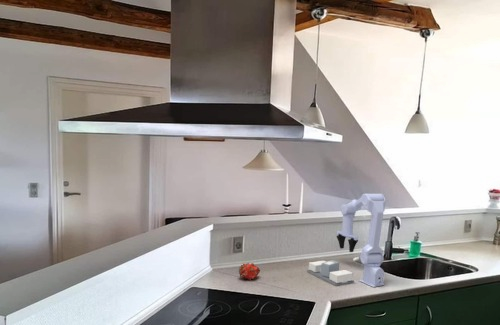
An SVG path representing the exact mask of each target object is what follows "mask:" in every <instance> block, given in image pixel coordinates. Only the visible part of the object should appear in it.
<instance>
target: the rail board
mask: <svg viewBox="0 0 500 325" xmlns="http://www.w3.org/2000/svg"><path fill="white" fill-rule="evenodd" d="M324 262H327V261H326V260H317V261H312V262H311V261H310V262H308V269H307V270H306V273H309V274H311V275H312V276H314V277H316V278H318V279H320V280H322V281H324V282H326V283H328V284H329V285H332V286H334V287H339V286H344V285H349V284H354V283H355V280H353V277H354V272H351V271H349V270H346V269H343V270H339V271H334V272H330V275H329V277H326V276H323V275H321V267H322V263H324Z"/></svg>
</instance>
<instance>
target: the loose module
mask: <svg viewBox="0 0 500 325" xmlns="http://www.w3.org/2000/svg"><path fill="white" fill-rule="evenodd" d="M334 271H340V261H337V260H333V259H331V260H328V261H326V262H324V263H322V267H321V275H323V276H326V277H329V275H330V272H334Z"/></svg>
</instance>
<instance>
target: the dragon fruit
mask: <svg viewBox="0 0 500 325" xmlns="http://www.w3.org/2000/svg"><path fill="white" fill-rule="evenodd" d="M260 273H261V269H260V268H259V267H258V266H257V265H255V264H254V263H253V262H252V263H250V262H247V263H242V264H241V265H240V267H239V268H238V274H239V277H240V278H243V279H244V280H246V279H247V280H249V281H251V279H252V280H255V279H257V276H259V274H260Z"/></svg>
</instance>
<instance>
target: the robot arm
mask: <svg viewBox="0 0 500 325" xmlns="http://www.w3.org/2000/svg"><path fill="white" fill-rule="evenodd" d="M386 203H387V200H386V198H385V196H384V194H383V193H363V194H361V197H360V198H358V199H352V200H351V201H350V202H348V203H347V204H346V203H345V204H344V203H343V204H342V205H341V207H340V211H341V215H342V224H341V225H342V226H341V228H342V229H341V230H337V231H336V234H337V235H336V239H337V241H338V245H339V248H340V249H344V248H345V243H346V242H345V241H346V239H347V241H348V247H349V253H353V252H354V250H355V247H356V245H357V243H358V241H359V236H357V235H356V234H354V231H353V230H354V218H355V215H356V212H358V211H359V210H361V209H362V206H364V208H365V209H366V211H367V212H369V213H370V214H371V215H370V216H371V217H370V224H369V231H368V236H367V244H366V245H365V246H363V247H362V249H361V252H360V256H359V257H360V258H359V259H360V262H361V263H362V264H363V272H362V273H363V274H362V275H363V276H362V278H361V279H359V280H358V281H359V282H361V283H363V284H364V285H366V286H367V285H368V286H370V287H372V288H375V287H382V286H385V271H384V269H383V268H382V267H380V266H381V265H382V264H383V263H384V262H383V261H384V250H383V249H382V248H381V247H380V240H381V239H380V238H381V232H382V225H383V219H384V212H385V210H386ZM348 238H349V239H348Z"/></svg>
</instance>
